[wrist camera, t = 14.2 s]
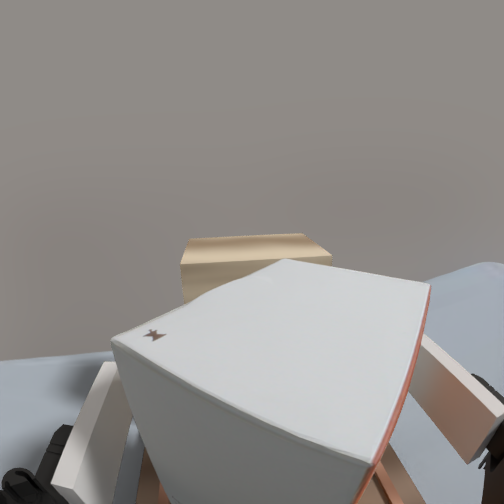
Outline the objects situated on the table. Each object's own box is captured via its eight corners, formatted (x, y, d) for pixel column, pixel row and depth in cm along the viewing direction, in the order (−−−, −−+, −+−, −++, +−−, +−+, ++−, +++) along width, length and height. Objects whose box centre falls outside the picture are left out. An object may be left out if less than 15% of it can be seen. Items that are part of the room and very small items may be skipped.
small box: (294, 594, 6) (377, 472, 3) (187, 537, 10) (100, 333, 6) (366, 487, 13) (434, 279, 9) (274, 453, 16) (278, 254, 13)
